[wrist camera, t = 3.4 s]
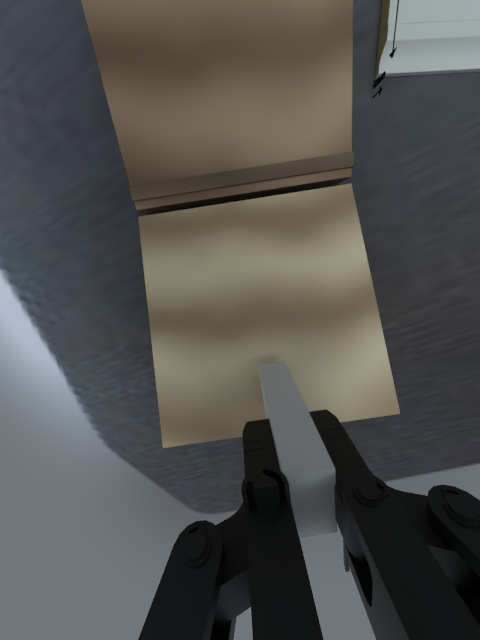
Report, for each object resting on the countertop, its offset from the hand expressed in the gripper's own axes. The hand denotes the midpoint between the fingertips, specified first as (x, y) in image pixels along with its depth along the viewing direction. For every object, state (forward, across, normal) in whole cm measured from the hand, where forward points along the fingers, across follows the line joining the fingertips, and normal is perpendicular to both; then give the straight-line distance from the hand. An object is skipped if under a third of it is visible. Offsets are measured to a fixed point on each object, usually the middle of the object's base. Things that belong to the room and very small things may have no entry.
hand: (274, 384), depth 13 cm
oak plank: (+4, 0, +3) cm, 5 cm away
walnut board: (+7, 0, +18) cm, 20 cm away
